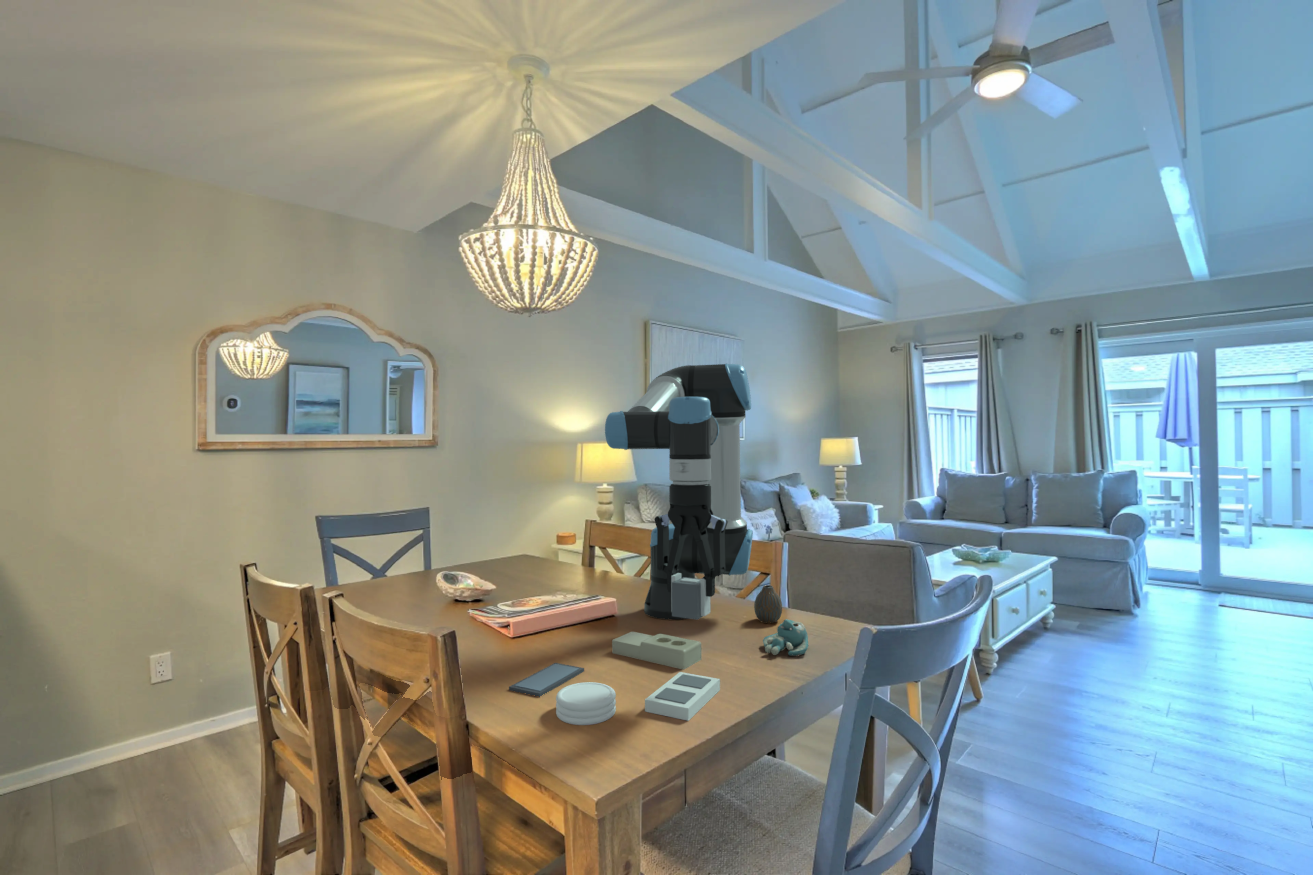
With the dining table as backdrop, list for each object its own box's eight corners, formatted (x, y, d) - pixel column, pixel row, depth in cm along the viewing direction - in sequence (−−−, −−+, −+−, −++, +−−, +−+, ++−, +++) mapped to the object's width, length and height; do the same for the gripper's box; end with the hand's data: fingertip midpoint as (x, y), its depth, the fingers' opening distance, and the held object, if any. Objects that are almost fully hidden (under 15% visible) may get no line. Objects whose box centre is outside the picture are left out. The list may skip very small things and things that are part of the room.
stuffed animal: (746, 627, 135) (777, 606, 144) (750, 658, 136) (781, 635, 145) (789, 638, 128) (819, 615, 136) (793, 671, 129) (823, 646, 137)
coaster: (626, 716, 104) (626, 695, 104) (571, 732, 99) (571, 710, 99) (598, 696, 113) (598, 676, 113) (546, 709, 107) (546, 689, 107)
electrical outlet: (632, 627, 141) (701, 641, 131) (632, 645, 141) (702, 660, 131) (612, 635, 135) (683, 650, 125) (612, 654, 135) (683, 671, 125)
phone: (555, 668, 128) (555, 661, 128) (584, 674, 124) (584, 667, 125) (509, 693, 115) (509, 686, 115) (539, 700, 112) (539, 692, 112)
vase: (754, 616, 162) (753, 582, 162) (781, 617, 161) (781, 583, 161) (754, 624, 155) (754, 588, 155) (783, 625, 154) (782, 589, 154)
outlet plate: (680, 682, 118) (680, 670, 118) (720, 689, 115) (719, 677, 115) (644, 711, 106) (644, 698, 106) (688, 720, 102) (688, 707, 102)
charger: (683, 609, 117) (683, 575, 117) (708, 612, 114) (708, 578, 114) (671, 616, 112) (671, 581, 112) (697, 619, 110) (697, 583, 110)
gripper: (636, 482, 114) (636, 611, 114) (730, 485, 106) (730, 624, 106) (655, 480, 121) (655, 601, 121) (744, 482, 113) (745, 613, 113)
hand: (690, 611), depth 113 cm, fingers closed on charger, 5 cm apart
